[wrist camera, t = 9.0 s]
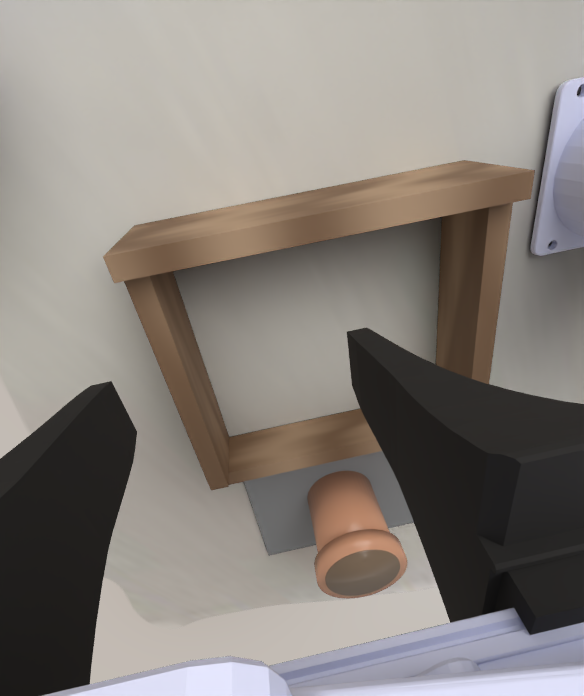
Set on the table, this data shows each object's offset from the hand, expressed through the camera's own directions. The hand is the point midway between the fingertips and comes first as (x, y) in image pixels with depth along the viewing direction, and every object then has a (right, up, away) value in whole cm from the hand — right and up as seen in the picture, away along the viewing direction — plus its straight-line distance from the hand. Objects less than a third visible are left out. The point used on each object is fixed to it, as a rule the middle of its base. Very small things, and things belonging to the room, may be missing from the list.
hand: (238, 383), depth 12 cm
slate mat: (+6, -10, +18) cm, 22 cm away
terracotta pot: (+5, -10, +17) cm, 21 cm away
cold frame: (+3, +2, +10) cm, 11 cm away
